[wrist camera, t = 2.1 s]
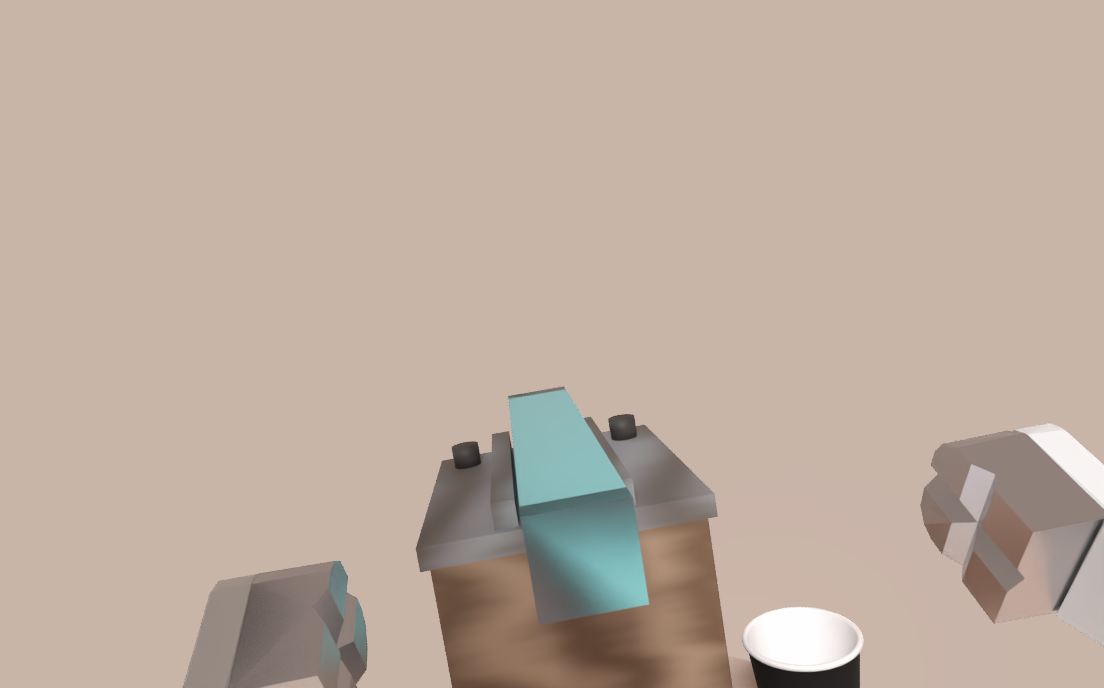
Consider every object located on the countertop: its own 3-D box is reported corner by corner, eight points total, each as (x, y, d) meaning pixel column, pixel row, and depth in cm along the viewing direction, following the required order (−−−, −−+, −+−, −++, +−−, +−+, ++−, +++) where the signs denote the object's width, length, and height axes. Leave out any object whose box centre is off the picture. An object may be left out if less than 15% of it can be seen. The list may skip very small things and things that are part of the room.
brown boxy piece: (504, 1021, 38) (410, 521, 35) (502, 791, 55) (438, 442, 52) (780, 958, 39) (710, 466, 36) (694, 751, 55) (641, 406, 53)
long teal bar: (539, 625, 25) (520, 517, 25) (517, 450, 51) (508, 396, 51) (649, 604, 26) (632, 496, 25) (572, 441, 51) (563, 386, 51)
